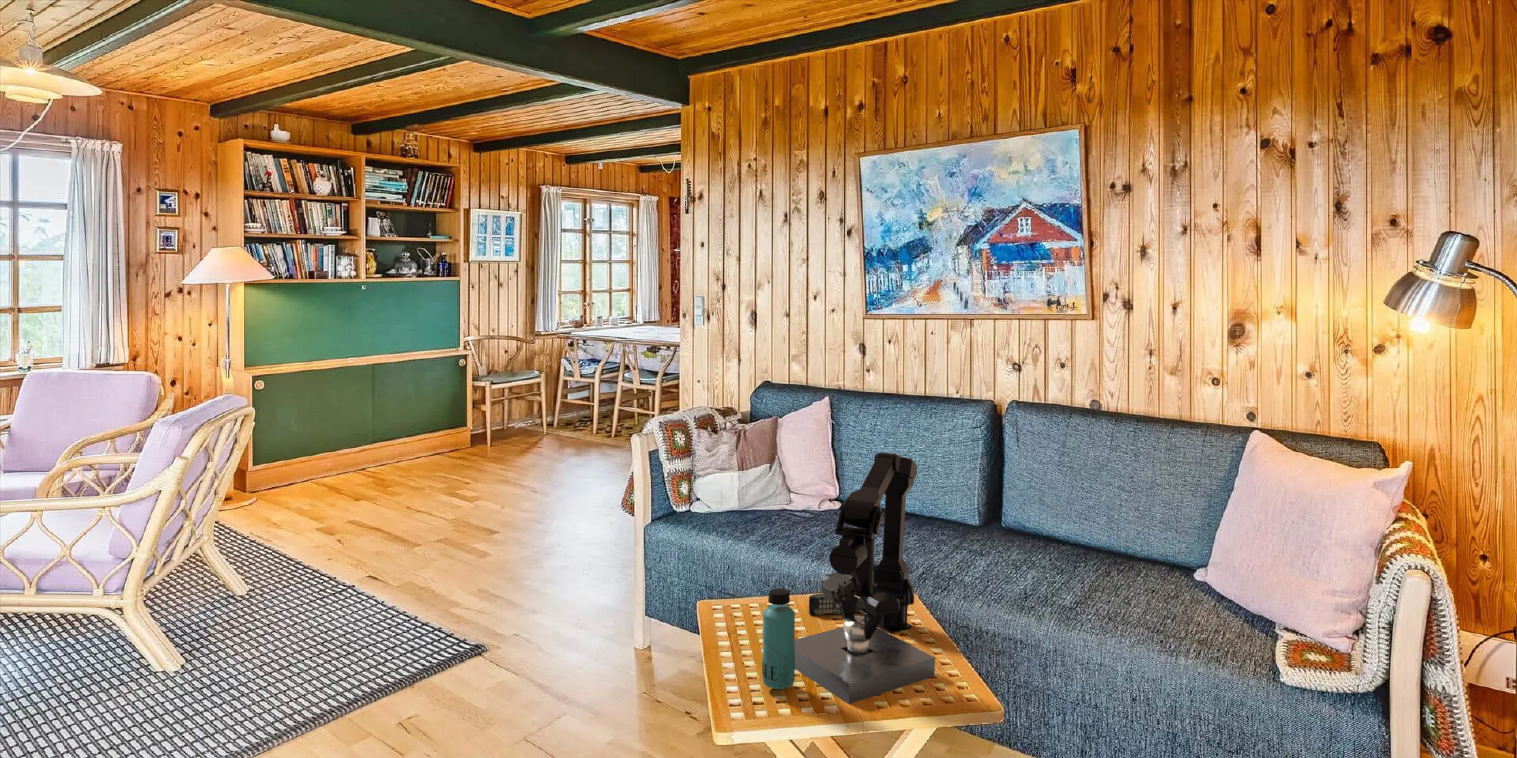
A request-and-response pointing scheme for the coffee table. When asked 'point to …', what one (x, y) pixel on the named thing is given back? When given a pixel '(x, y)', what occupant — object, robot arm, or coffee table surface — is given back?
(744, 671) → the coffee table surface
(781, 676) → the beverage bottle
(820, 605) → the mobile phone
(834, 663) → the bore block
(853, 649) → the end cover
